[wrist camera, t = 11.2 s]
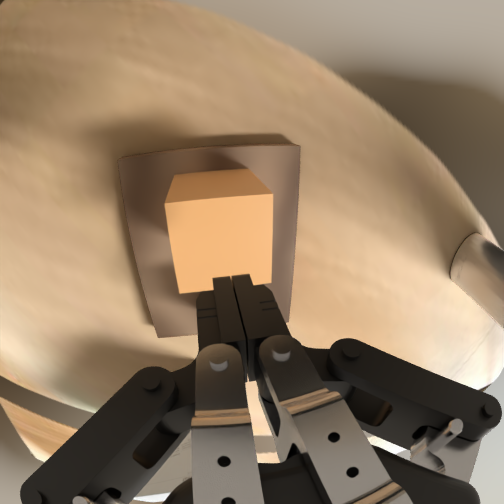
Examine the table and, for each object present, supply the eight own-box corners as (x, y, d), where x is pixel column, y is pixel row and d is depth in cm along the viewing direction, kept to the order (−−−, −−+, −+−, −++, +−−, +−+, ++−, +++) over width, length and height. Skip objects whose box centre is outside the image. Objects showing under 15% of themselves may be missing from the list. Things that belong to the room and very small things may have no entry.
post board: (294, 143, 21) (332, 157, 15) (284, 313, 30) (305, 360, 24) (122, 157, 19) (92, 176, 13) (158, 328, 27) (155, 379, 21)
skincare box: (149, 423, 38) (151, 503, 24) (122, 412, 35) (120, 497, 21) (234, 374, 34) (259, 482, 20) (204, 359, 31) (221, 480, 18)
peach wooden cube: (248, 168, 20) (273, 193, 14) (249, 234, 23) (271, 282, 17) (174, 174, 19) (164, 203, 13) (182, 241, 22) (179, 293, 16)
